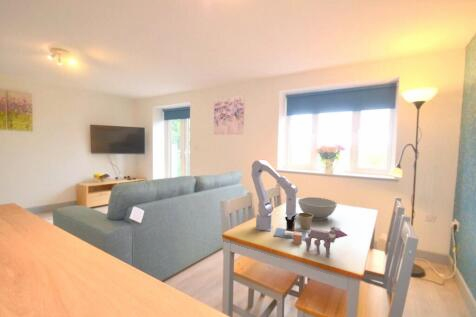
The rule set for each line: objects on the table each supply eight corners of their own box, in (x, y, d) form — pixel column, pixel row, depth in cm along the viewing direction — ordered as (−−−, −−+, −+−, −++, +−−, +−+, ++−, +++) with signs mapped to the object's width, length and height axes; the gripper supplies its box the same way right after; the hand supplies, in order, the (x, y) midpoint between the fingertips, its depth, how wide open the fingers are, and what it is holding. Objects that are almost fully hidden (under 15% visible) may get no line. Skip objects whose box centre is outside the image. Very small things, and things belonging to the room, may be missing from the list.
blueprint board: (273, 236, 138) (273, 235, 138) (277, 228, 150) (277, 227, 150) (305, 240, 132) (305, 239, 132) (306, 232, 144) (306, 231, 144)
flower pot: (294, 226, 154) (295, 213, 154) (306, 224, 158) (306, 211, 157) (303, 231, 146) (303, 217, 145) (315, 229, 149) (316, 216, 148)
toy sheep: (348, 252, 118) (349, 227, 116) (345, 263, 109) (346, 235, 107) (308, 243, 128) (309, 219, 127) (303, 252, 119) (303, 226, 118)
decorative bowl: (329, 212, 184) (330, 197, 183) (341, 224, 157) (342, 207, 156) (295, 211, 187) (295, 196, 186) (300, 223, 160) (301, 205, 159)
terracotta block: (292, 243, 128) (293, 234, 128) (293, 240, 133) (293, 231, 132) (301, 244, 127) (301, 235, 127) (301, 241, 131) (302, 232, 131)
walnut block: (286, 230, 139) (286, 222, 139) (287, 228, 143) (287, 220, 143) (294, 231, 138) (294, 223, 137) (294, 229, 142) (294, 221, 142)
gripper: (296, 209, 131) (296, 232, 132) (298, 202, 145) (298, 224, 146) (284, 208, 134) (283, 231, 135) (287, 201, 147) (286, 222, 148)
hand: (290, 227), depth 141 cm, fingers closed on walnut block, 4 cm apart
